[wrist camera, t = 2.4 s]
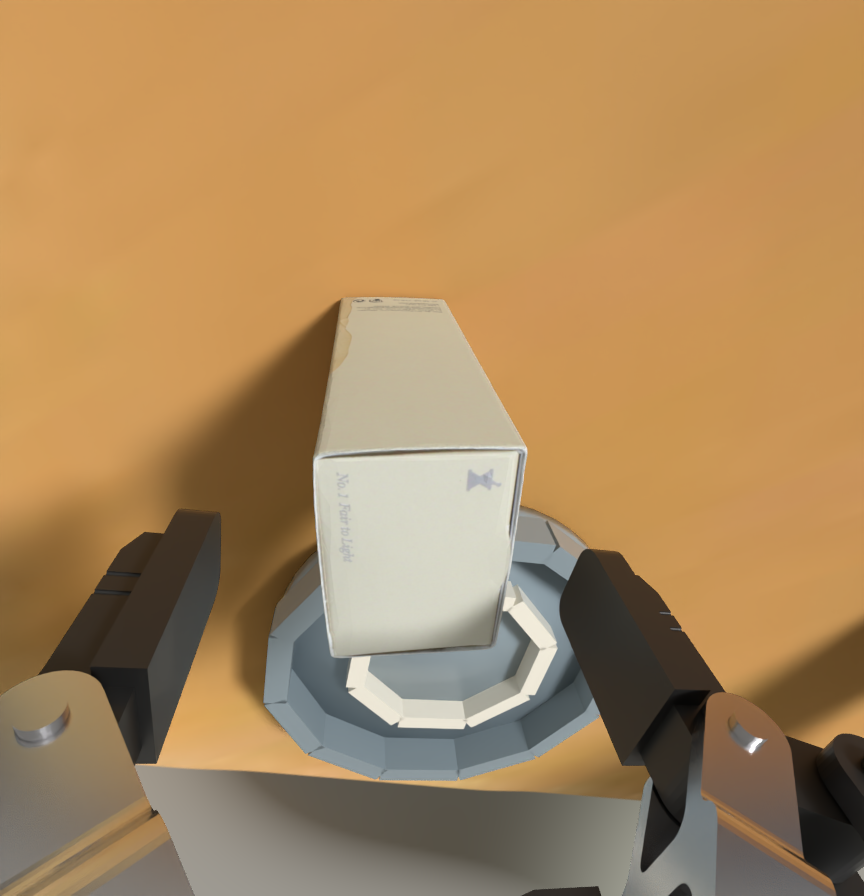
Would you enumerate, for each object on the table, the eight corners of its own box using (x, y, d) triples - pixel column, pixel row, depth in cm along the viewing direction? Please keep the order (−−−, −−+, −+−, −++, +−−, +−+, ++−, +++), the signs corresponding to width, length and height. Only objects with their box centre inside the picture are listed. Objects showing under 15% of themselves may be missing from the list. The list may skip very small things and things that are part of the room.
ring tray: (662, 519, 27) (695, 559, 24) (547, 734, 36) (561, 781, 34) (289, 474, 23) (278, 515, 20) (267, 727, 32) (257, 779, 30)
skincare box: (339, 294, 20) (299, 439, 9) (450, 297, 20) (535, 438, 9) (345, 434, 23) (321, 665, 12) (441, 434, 23) (498, 655, 13)
